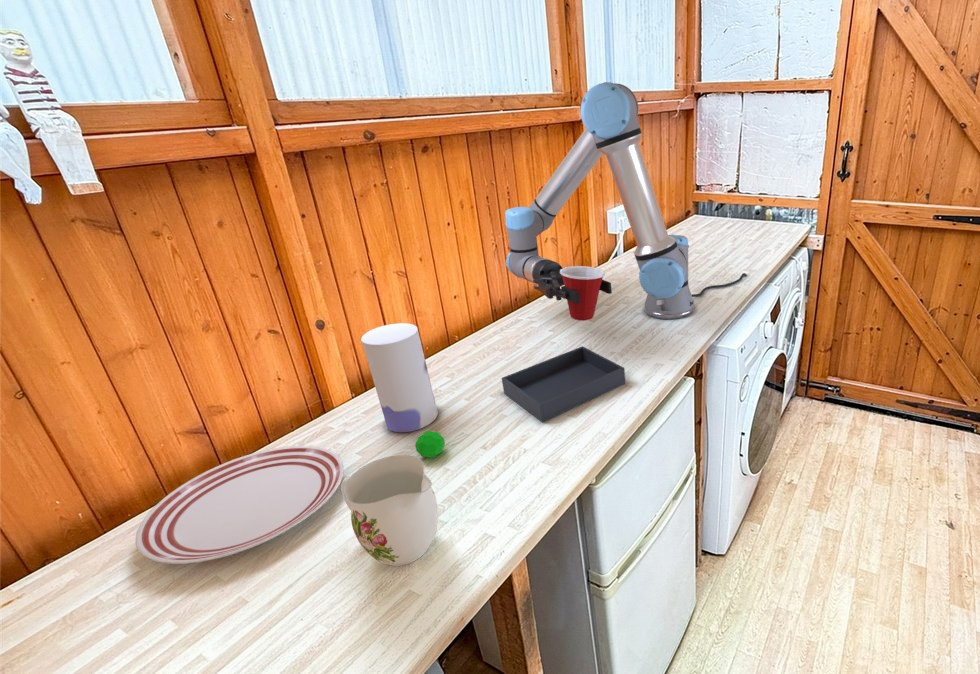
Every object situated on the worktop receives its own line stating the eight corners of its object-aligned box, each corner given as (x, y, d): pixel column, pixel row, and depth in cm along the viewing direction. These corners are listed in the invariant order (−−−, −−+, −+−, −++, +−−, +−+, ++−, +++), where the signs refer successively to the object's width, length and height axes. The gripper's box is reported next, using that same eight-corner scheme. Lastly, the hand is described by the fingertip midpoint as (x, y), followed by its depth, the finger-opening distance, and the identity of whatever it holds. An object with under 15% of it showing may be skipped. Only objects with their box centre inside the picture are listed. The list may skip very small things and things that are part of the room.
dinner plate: (294, 441, 103) (289, 427, 101) (381, 485, 90) (376, 470, 89) (115, 535, 82) (104, 519, 80) (194, 610, 69) (184, 593, 67)
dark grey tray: (584, 360, 130) (582, 346, 129) (625, 383, 119) (624, 367, 118) (504, 393, 117) (501, 377, 115) (542, 422, 106) (539, 405, 104)
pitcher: (386, 506, 85) (364, 437, 80) (474, 535, 79) (457, 463, 73) (327, 556, 76) (296, 483, 70) (420, 594, 70) (396, 517, 64)
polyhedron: (430, 466, 94) (425, 444, 92) (412, 458, 97) (407, 437, 95) (452, 450, 98) (447, 430, 96) (434, 443, 101) (429, 423, 99)
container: (448, 410, 111) (428, 325, 103) (415, 436, 103) (390, 346, 95) (410, 403, 115) (388, 320, 106) (375, 428, 106) (348, 340, 98)
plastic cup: (607, 309, 133) (608, 265, 128) (599, 327, 124) (601, 279, 118) (566, 305, 134) (565, 261, 129) (555, 322, 124) (554, 275, 119)
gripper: (578, 276, 146) (630, 296, 130) (510, 296, 133) (557, 320, 118) (576, 250, 143) (628, 267, 127) (505, 268, 130) (554, 289, 115)
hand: (594, 293), depth 123 cm, fingers closed on plastic cup, 9 cm apart
